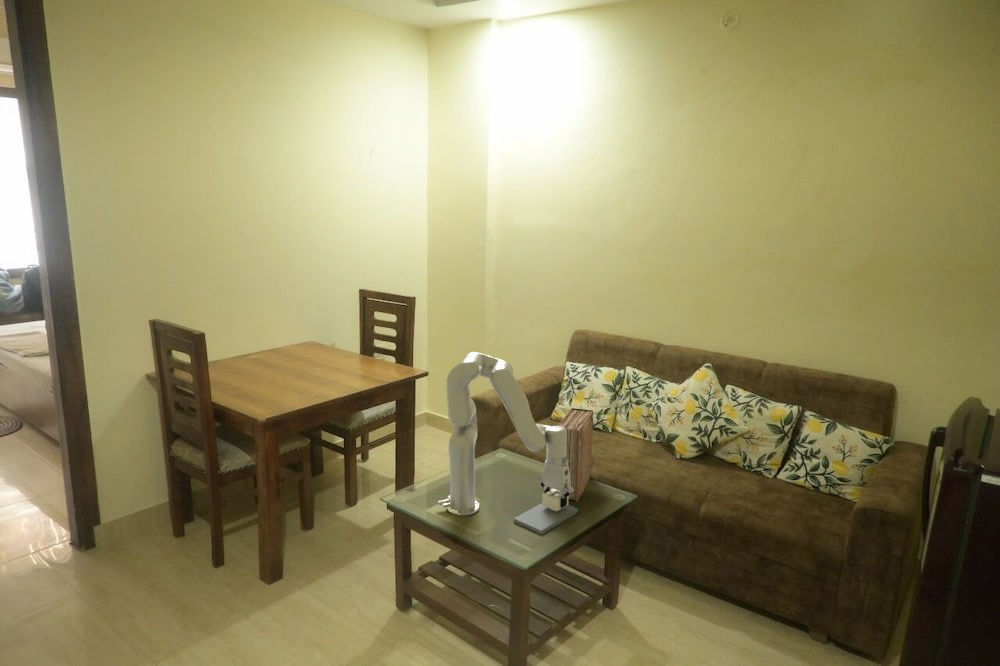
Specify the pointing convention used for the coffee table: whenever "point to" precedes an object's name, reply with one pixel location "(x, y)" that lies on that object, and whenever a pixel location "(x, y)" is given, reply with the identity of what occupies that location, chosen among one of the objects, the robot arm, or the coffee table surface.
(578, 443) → the book
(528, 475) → the coffee table surface
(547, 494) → the collar
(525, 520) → the grey flat piece
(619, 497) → the coffee table surface
